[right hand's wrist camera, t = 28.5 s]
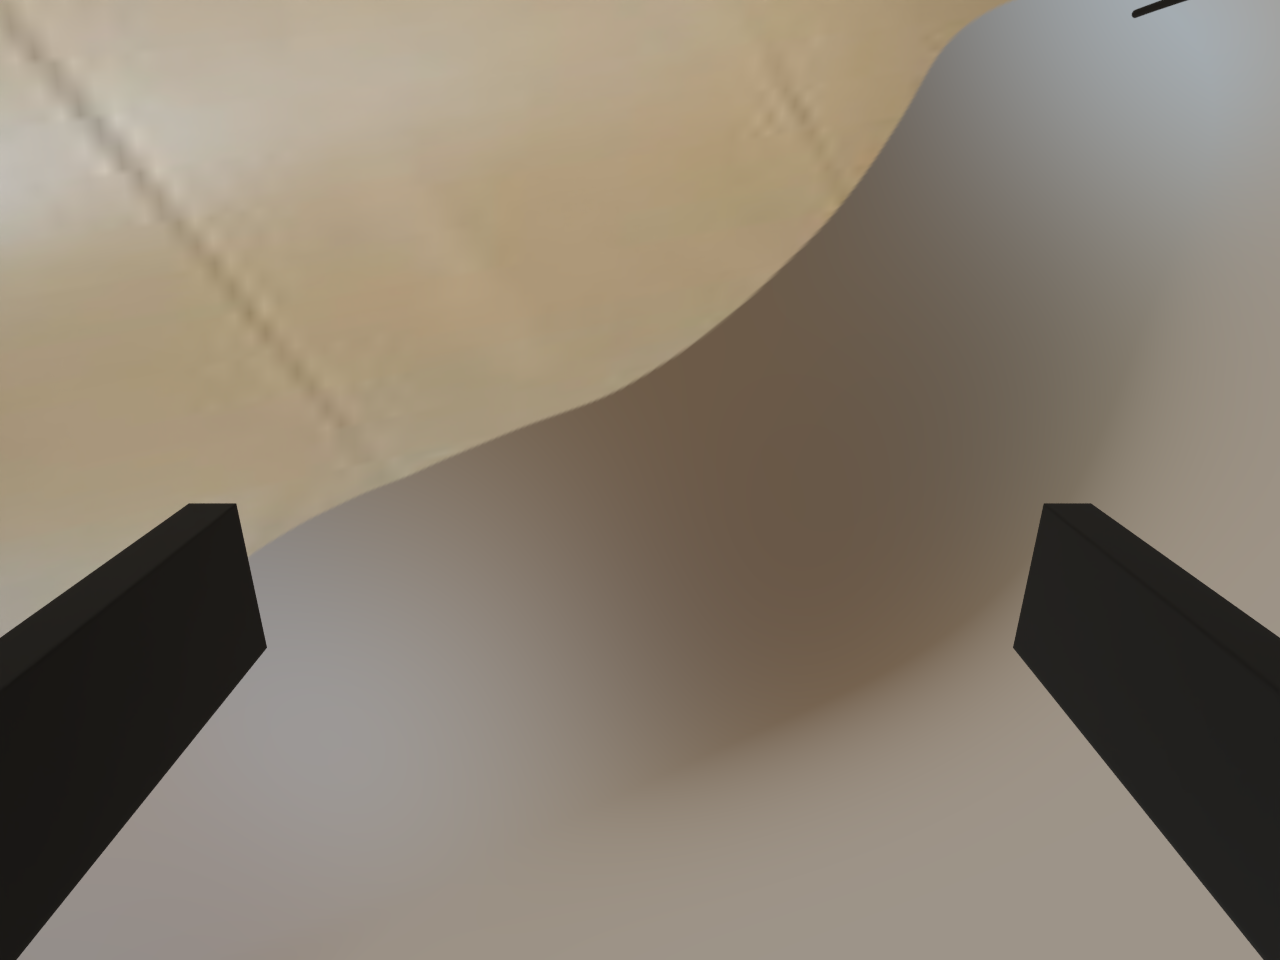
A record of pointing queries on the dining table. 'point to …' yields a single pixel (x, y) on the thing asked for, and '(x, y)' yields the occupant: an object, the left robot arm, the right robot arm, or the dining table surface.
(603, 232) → the dining table surface
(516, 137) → the dining table surface
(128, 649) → the right robot arm
